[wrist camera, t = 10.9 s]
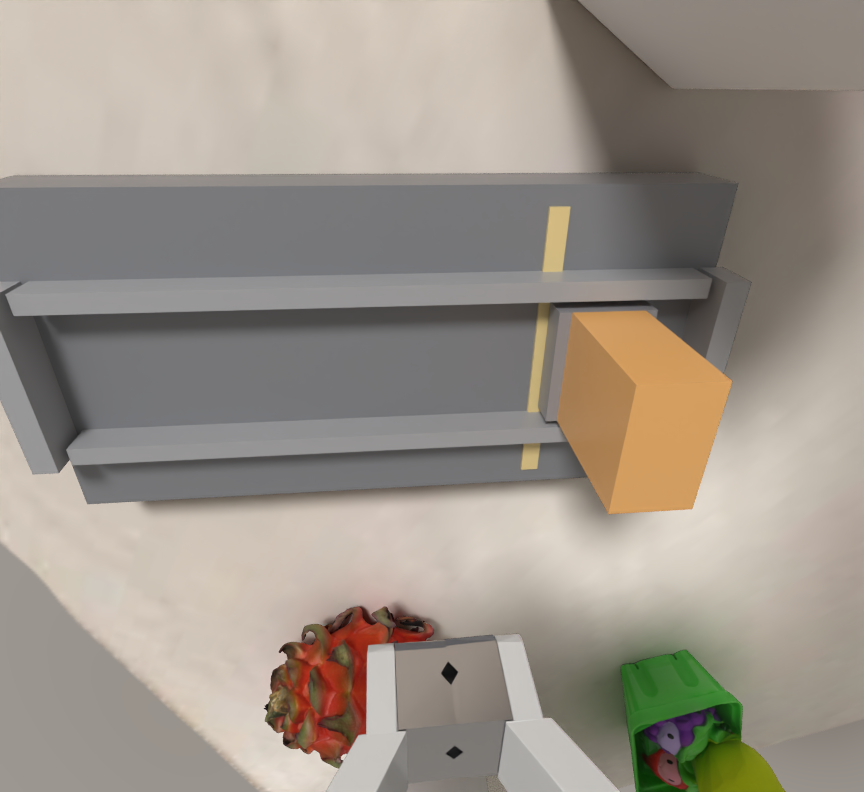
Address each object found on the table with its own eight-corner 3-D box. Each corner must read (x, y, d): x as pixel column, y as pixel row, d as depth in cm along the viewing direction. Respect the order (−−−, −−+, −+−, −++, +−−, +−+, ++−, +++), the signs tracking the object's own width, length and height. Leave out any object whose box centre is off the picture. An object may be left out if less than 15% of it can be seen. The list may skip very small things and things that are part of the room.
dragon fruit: (262, 621, 37) (429, 565, 39) (295, 748, 36) (465, 686, 38) (225, 666, 29) (441, 592, 30) (267, 832, 28) (488, 749, 29)
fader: (550, 301, 22) (620, 385, 16) (643, 298, 23) (748, 380, 16) (538, 406, 25) (594, 514, 19) (622, 402, 25) (705, 508, 19)
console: (5, 175, 21) (-89, 198, 17) (704, 172, 24) (779, 191, 19) (107, 465, 28) (59, 534, 24) (641, 440, 31) (685, 498, 26)
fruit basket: (601, 658, 40) (674, 840, 31) (719, 629, 40) (832, 805, 30) (613, 738, 46) (677, 914, 36) (716, 714, 46) (810, 884, 36)
